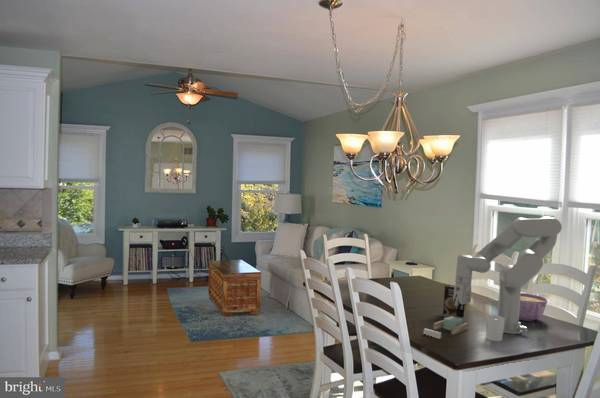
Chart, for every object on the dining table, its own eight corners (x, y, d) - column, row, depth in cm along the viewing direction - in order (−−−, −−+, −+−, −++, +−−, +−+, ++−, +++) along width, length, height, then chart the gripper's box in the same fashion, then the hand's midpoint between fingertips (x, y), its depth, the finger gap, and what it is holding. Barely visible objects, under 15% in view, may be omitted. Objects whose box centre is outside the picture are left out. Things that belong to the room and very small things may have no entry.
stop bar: (440, 338, 226) (441, 332, 225) (439, 338, 225) (439, 333, 224) (425, 333, 231) (425, 328, 231) (423, 334, 230) (423, 328, 230)
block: (462, 329, 241) (462, 319, 241) (454, 331, 236) (454, 321, 236) (451, 326, 246) (451, 316, 245) (443, 328, 241) (443, 318, 241)
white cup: (488, 335, 233) (489, 314, 233) (505, 339, 228) (507, 317, 228) (482, 339, 227) (483, 317, 226) (500, 343, 222) (501, 321, 221)
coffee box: (442, 316, 262) (444, 286, 261) (445, 313, 268) (446, 283, 267) (460, 319, 258) (462, 288, 257) (462, 316, 264) (464, 286, 263)
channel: (467, 329, 241) (468, 323, 241) (453, 335, 231) (453, 328, 231) (448, 324, 248) (448, 318, 248) (433, 329, 238) (433, 323, 238)
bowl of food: (551, 326, 253) (552, 303, 252) (508, 322, 257) (510, 299, 256) (540, 315, 272) (541, 294, 272) (501, 312, 276) (502, 291, 276)
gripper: (463, 283, 238) (459, 321, 239) (477, 280, 249) (474, 316, 250) (448, 279, 243) (445, 317, 244) (463, 277, 254) (460, 312, 255)
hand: (459, 316), depth 247 cm, fingers closed
